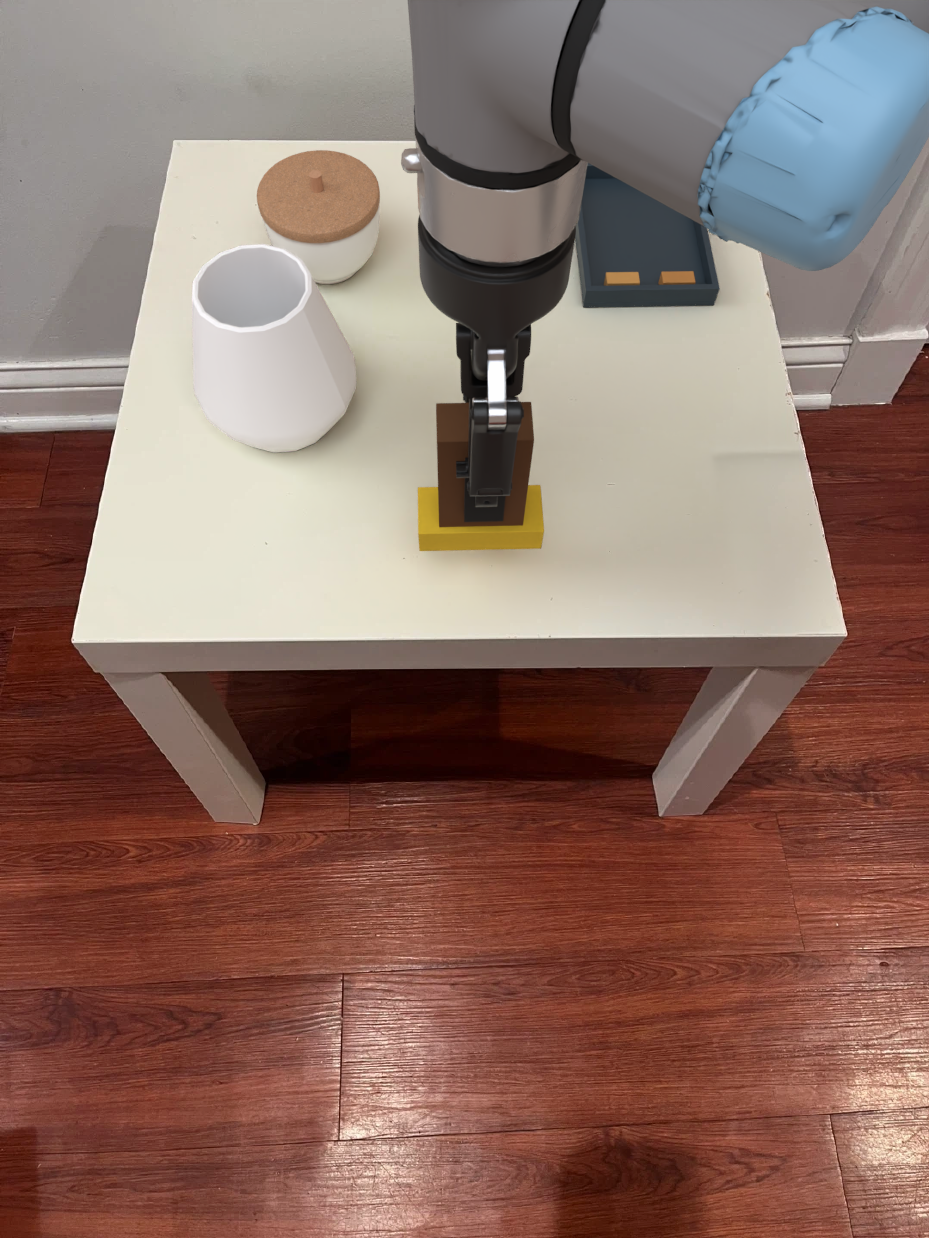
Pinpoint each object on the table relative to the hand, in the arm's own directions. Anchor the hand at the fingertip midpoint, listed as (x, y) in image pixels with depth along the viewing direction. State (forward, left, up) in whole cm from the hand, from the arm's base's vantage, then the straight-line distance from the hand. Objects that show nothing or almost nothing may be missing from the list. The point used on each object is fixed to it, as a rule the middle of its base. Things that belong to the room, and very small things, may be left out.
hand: (482, 494), depth 63 cm
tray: (+8, -38, -9) cm, 40 cm away
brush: (0, 0, -4) cm, 4 cm away
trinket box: (+30, -18, -9) cm, 37 cm away
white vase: (+22, -2, -9) cm, 24 cm away
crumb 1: (+6, -31, -9) cm, 33 cm away
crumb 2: (+1, -34, -9) cm, 35 cm away
